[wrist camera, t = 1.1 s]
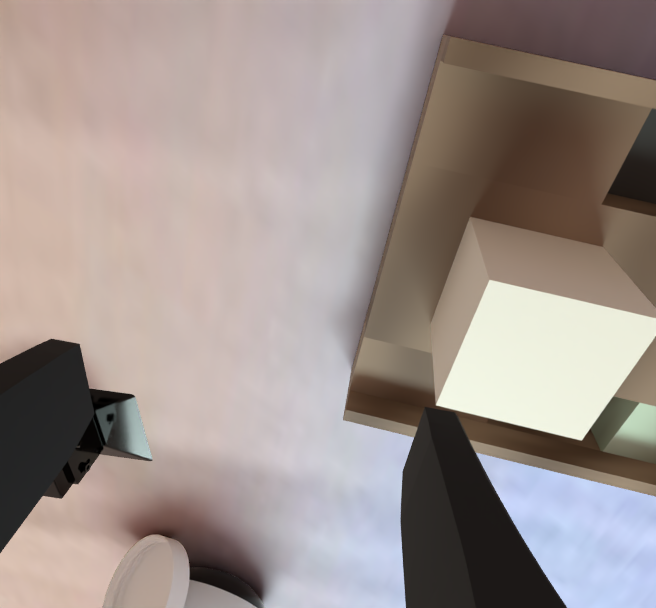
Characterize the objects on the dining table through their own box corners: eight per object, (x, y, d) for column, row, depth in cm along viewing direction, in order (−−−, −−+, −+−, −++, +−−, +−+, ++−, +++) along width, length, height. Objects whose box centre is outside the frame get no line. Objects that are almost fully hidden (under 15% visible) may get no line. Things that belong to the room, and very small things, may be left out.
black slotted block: (165, 379, 25) (120, 445, 21) (184, 469, 29) (149, 538, 25) (-41, 355, 26) (-118, 411, 22) (3, 443, 30) (-56, 504, 26)
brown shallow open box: (1035, 161, 14) (1190, 194, 11) (731, 462, 21) (778, 526, 18) (443, 34, 14) (450, 36, 12) (351, 370, 22) (343, 419, 19)
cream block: (603, 247, 15) (666, 320, 11) (544, 350, 17) (581, 440, 14) (470, 216, 15) (489, 279, 11) (430, 323, 17) (435, 405, 14)
